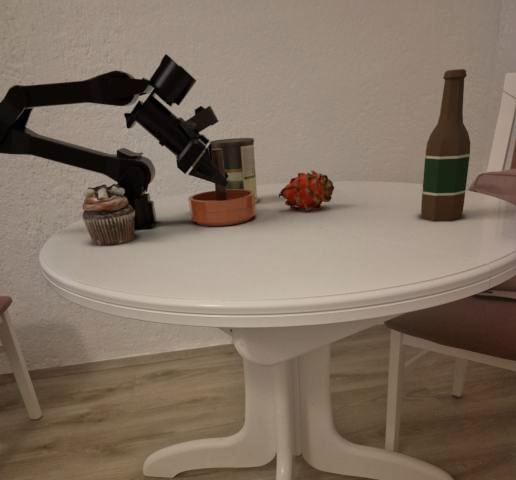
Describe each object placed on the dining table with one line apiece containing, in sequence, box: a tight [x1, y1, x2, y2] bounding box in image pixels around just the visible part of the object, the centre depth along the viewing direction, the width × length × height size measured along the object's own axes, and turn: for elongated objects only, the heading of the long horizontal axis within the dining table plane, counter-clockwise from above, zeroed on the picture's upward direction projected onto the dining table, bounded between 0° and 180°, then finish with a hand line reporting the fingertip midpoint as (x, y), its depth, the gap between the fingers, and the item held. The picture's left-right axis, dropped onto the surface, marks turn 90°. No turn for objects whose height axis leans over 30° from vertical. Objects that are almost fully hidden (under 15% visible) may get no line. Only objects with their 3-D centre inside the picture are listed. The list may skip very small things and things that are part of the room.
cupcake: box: [81, 183, 136, 246], centre depth 90 cm, size 10×10×10 cm
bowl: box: [187, 189, 257, 227], centre depth 100 cm, size 14×14×5 cm
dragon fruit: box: [278, 169, 335, 212], centre depth 103 cm, size 8×8×12 cm
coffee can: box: [209, 137, 258, 204], centre depth 114 cm, size 10×10×14 cm
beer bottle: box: [420, 68, 471, 222], centre depth 85 cm, size 8×8×24 cm
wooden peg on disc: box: [211, 149, 227, 201], centre depth 98 cm, size 6×6×13 cm
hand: (227, 181), depth 98 cm, fingers open, 9 cm apart
